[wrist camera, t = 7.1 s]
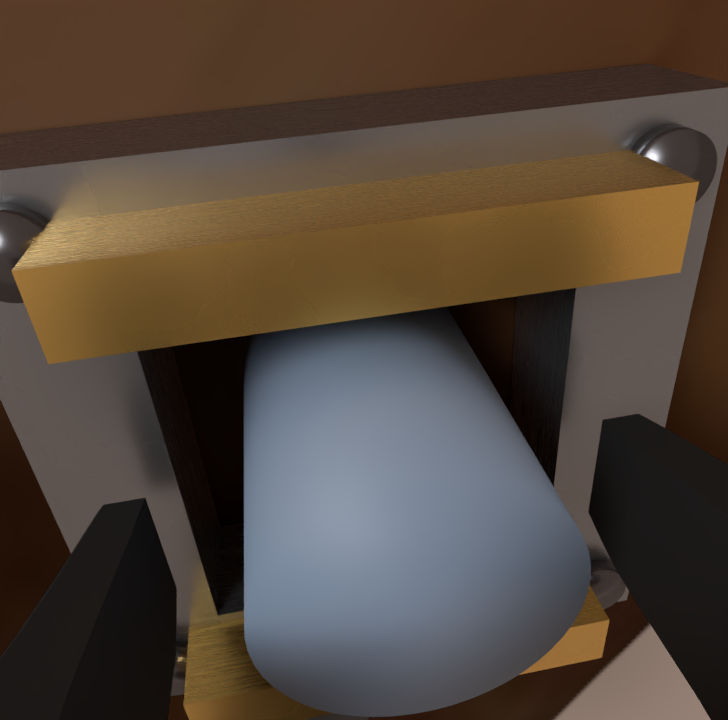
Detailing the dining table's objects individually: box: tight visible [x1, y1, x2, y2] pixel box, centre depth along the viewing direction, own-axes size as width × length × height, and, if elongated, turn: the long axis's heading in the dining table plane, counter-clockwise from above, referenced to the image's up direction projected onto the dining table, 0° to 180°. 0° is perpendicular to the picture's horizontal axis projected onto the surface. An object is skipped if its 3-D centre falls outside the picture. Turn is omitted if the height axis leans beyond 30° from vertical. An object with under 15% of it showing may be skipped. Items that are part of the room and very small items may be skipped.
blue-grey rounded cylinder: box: [244, 307, 591, 717], centre depth 11 cm, size 4×4×6 cm
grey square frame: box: [0, 64, 728, 720], centre depth 12 cm, size 11×11×4 cm
